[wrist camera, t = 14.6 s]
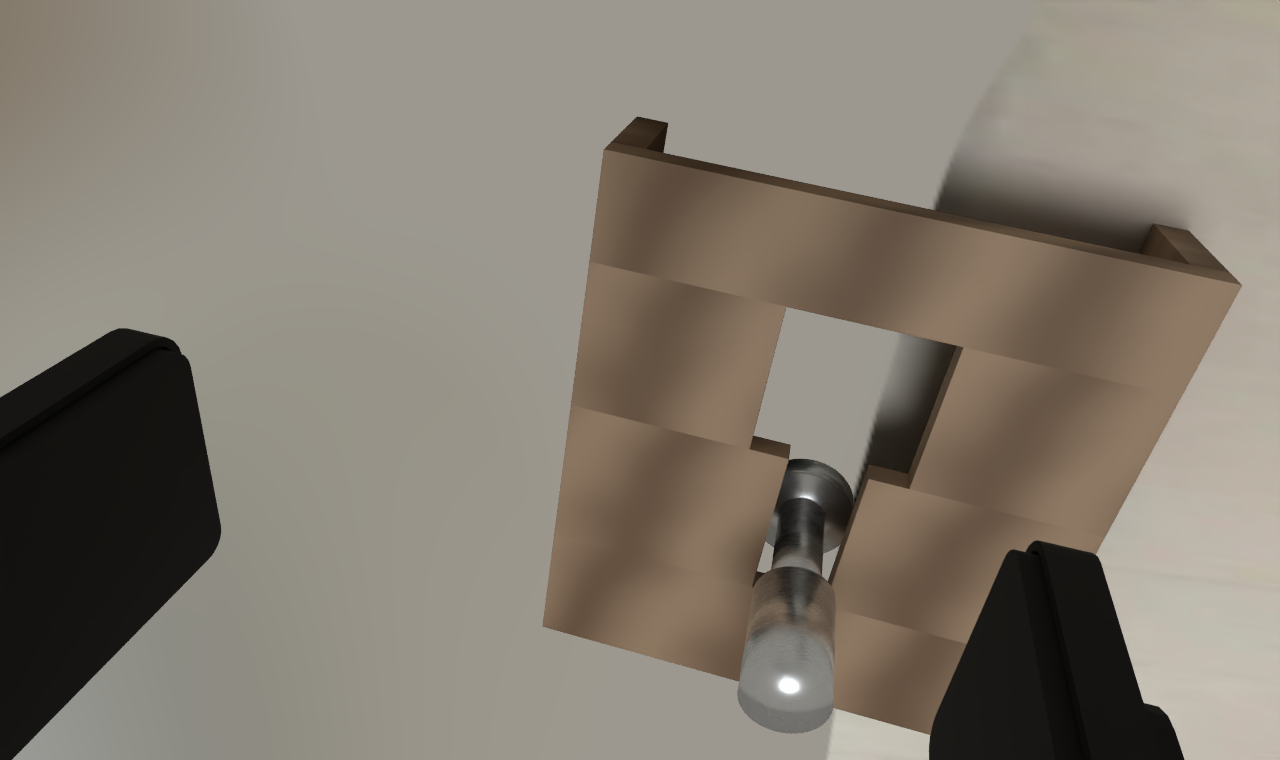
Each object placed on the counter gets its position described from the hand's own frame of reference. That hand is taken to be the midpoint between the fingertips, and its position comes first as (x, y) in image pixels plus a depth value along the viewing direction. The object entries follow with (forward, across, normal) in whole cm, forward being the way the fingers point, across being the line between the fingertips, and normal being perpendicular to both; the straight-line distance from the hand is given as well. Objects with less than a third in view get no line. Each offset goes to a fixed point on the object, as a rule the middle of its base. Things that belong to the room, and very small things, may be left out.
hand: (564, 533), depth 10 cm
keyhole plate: (+25, -4, +14) cm, 29 cm away
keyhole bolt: (+25, -4, +18) cm, 31 cm away
